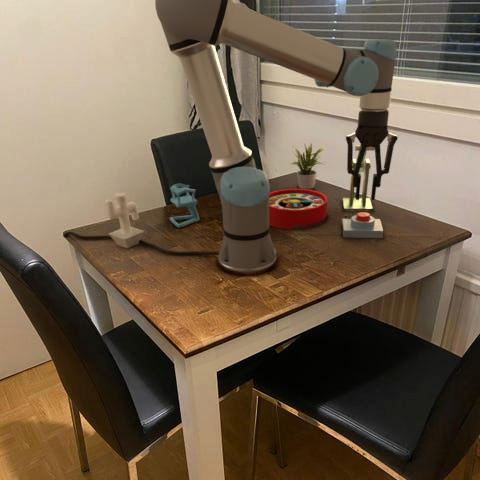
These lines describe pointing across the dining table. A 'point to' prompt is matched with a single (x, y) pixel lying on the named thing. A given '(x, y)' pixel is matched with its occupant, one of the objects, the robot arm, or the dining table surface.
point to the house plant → (307, 167)
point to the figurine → (124, 221)
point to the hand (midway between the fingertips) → (365, 198)
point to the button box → (362, 228)
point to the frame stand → (362, 202)
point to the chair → (184, 204)
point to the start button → (363, 216)
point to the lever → (364, 156)
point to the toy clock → (296, 207)
